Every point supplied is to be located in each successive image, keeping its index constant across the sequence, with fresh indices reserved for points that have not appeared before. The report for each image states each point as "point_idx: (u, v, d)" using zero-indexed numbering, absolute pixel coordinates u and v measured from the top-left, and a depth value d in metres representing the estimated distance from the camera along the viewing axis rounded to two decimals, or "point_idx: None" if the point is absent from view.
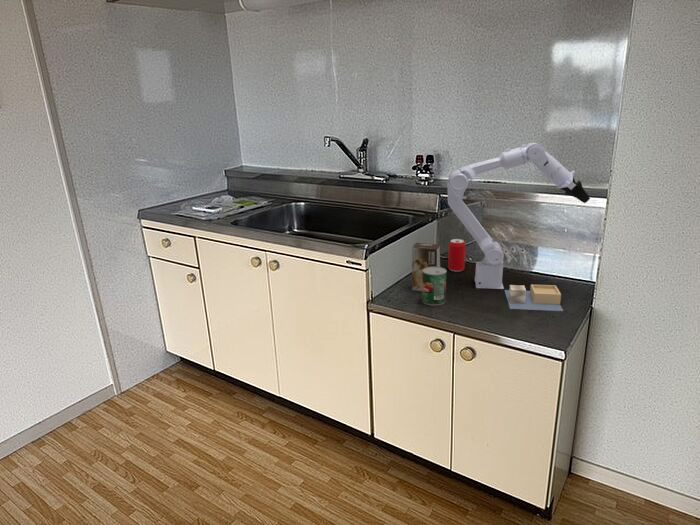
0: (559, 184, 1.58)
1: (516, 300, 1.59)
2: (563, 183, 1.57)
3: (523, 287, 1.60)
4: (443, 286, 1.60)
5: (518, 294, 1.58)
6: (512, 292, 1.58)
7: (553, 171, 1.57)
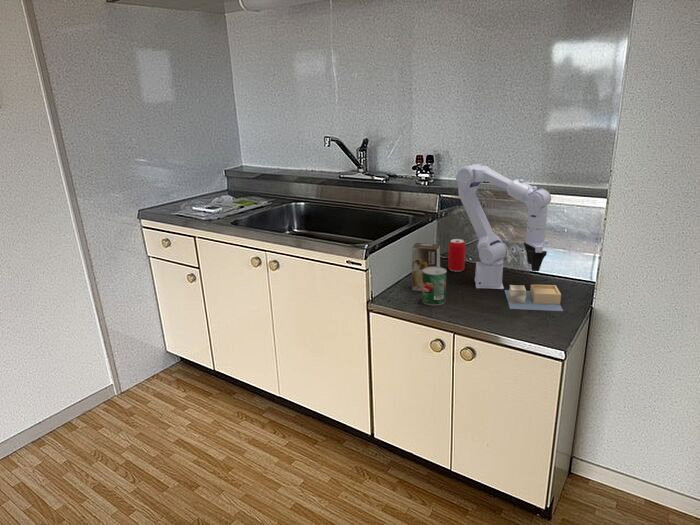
0: (530, 240, 1.58)
1: (516, 300, 1.59)
2: (533, 242, 1.57)
3: (523, 287, 1.60)
4: (443, 286, 1.60)
5: (518, 294, 1.58)
6: (512, 292, 1.58)
7: (531, 226, 1.56)
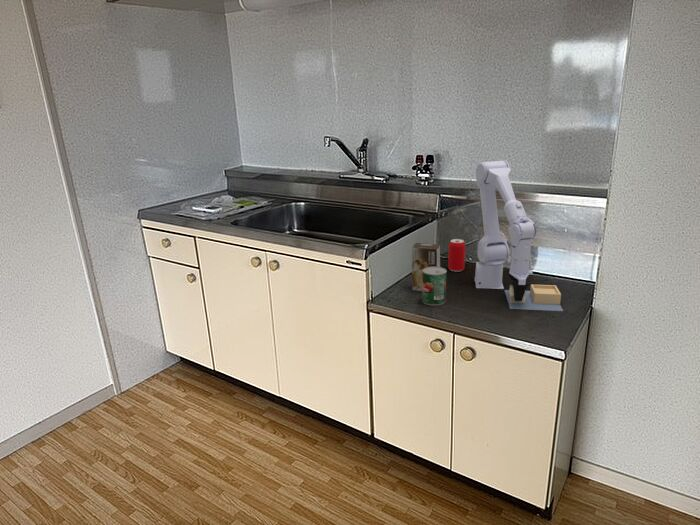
0: (513, 271, 1.56)
1: None
2: (517, 274, 1.55)
3: None
4: (443, 286, 1.60)
5: None
6: (512, 292, 1.58)
7: (512, 256, 1.56)
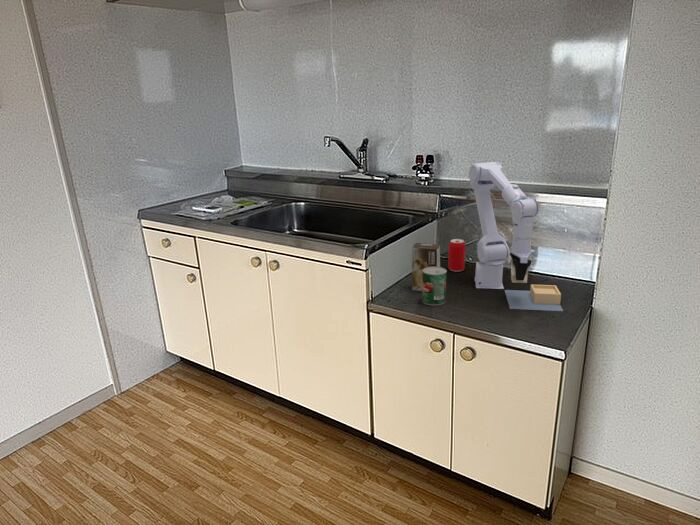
0: (515, 250, 1.54)
1: (518, 280, 1.56)
2: (519, 252, 1.53)
3: None
4: (443, 286, 1.60)
5: None
6: (514, 271, 1.56)
7: (514, 235, 1.53)
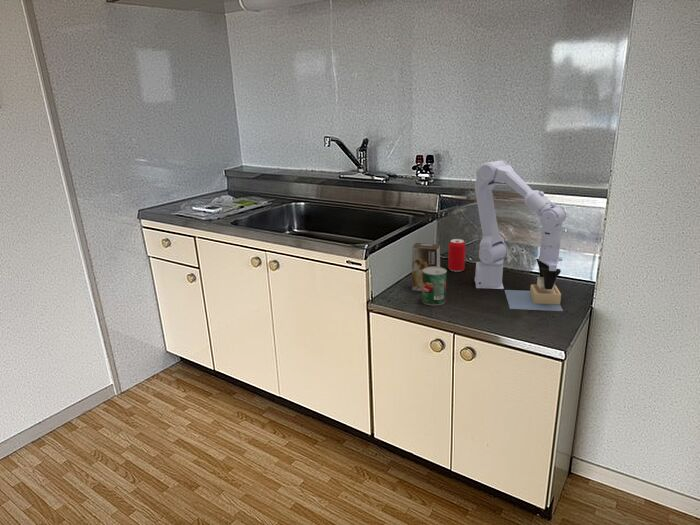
0: (543, 258, 1.55)
1: (544, 292, 1.58)
2: (547, 260, 1.54)
3: None
4: (443, 286, 1.60)
5: None
6: (540, 284, 1.58)
7: (545, 244, 1.53)
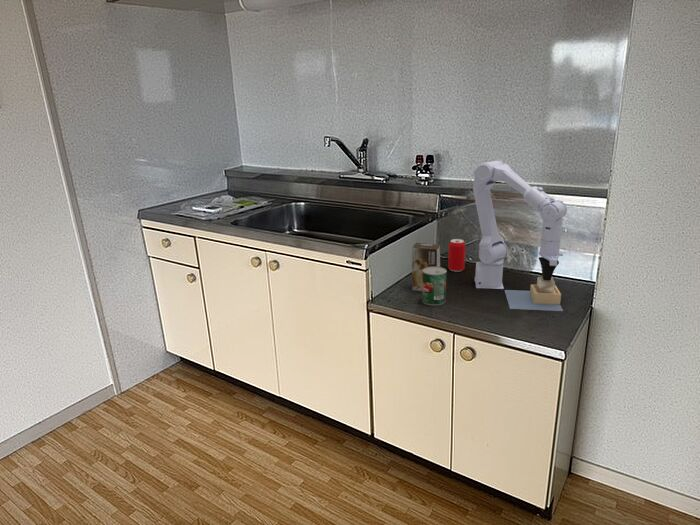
0: (544, 253, 1.54)
1: (544, 292, 1.58)
2: (547, 255, 1.54)
3: (551, 279, 1.59)
4: (443, 286, 1.60)
5: (546, 285, 1.57)
6: (540, 284, 1.58)
7: (545, 239, 1.53)
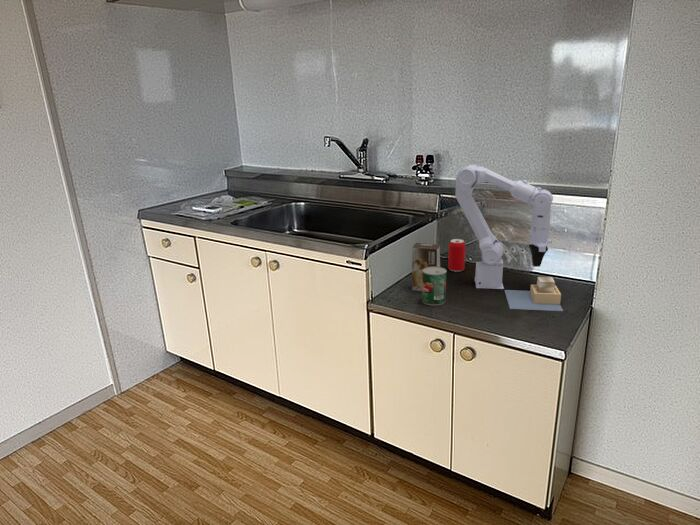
0: (533, 240, 1.62)
1: (544, 292, 1.58)
2: (537, 242, 1.61)
3: (551, 279, 1.59)
4: (443, 286, 1.60)
5: (546, 285, 1.57)
6: (540, 284, 1.58)
7: (538, 226, 1.59)
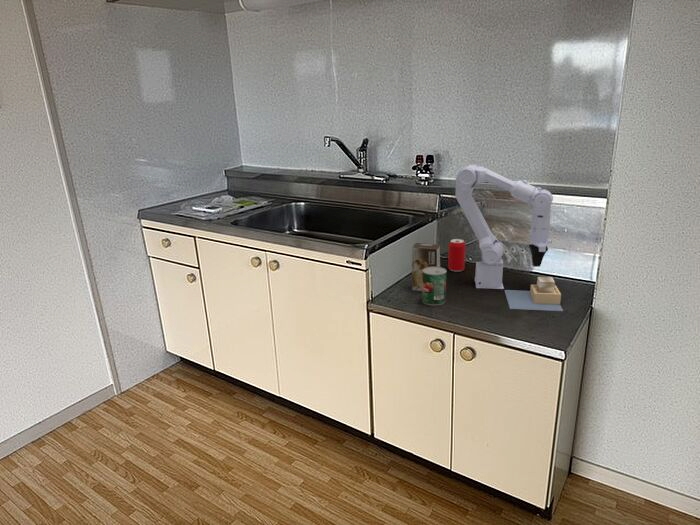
0: (533, 240, 1.62)
1: (544, 292, 1.58)
2: (537, 242, 1.61)
3: (551, 279, 1.59)
4: (443, 286, 1.60)
5: (546, 285, 1.57)
6: (540, 284, 1.58)
7: (538, 226, 1.59)
